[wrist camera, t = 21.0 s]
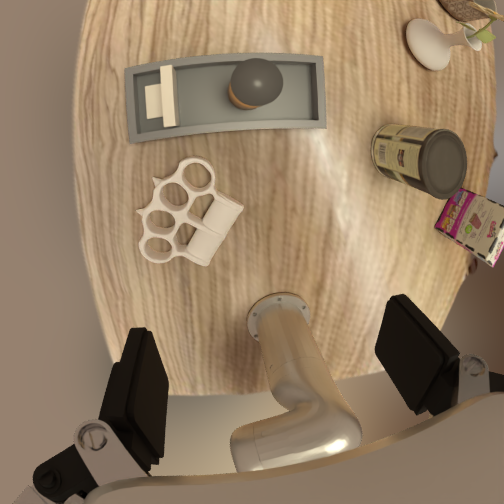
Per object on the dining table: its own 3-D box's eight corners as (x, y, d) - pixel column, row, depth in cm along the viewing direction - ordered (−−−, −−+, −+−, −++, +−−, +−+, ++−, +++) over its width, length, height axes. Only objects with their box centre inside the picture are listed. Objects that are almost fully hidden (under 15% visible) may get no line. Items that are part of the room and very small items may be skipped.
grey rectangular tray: (317, 128, 41) (326, 128, 37) (136, 142, 38) (129, 144, 35) (314, 60, 36) (322, 56, 33) (131, 72, 33) (124, 68, 30)
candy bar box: (444, 236, 53) (493, 269, 39) (433, 227, 52) (485, 260, 37) (464, 194, 50) (517, 220, 35) (455, 184, 48) (510, 208, 33)
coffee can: (420, 164, 45) (472, 181, 33) (382, 187, 47) (432, 212, 34) (403, 114, 41) (457, 119, 28) (361, 136, 42) (413, 145, 30)
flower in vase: (442, 34, 33) (535, 25, 11) (442, 79, 38) (543, 84, 16) (394, 7, 31) (489, -25, 9) (393, 55, 36) (502, 38, 13)
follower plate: (179, 125, 37) (175, 125, 32) (149, 130, 36) (141, 130, 32) (176, 71, 33) (171, 64, 29) (145, 76, 33) (137, 70, 28)
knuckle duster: (198, 275, 49) (123, 237, 44) (253, 186, 44) (172, 140, 39) (198, 285, 46) (118, 245, 41) (257, 191, 41) (169, 141, 36)
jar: (268, 110, 38) (284, 105, 28) (228, 112, 37) (232, 107, 28) (265, 73, 35) (281, 58, 26) (225, 75, 35) (229, 59, 25)
